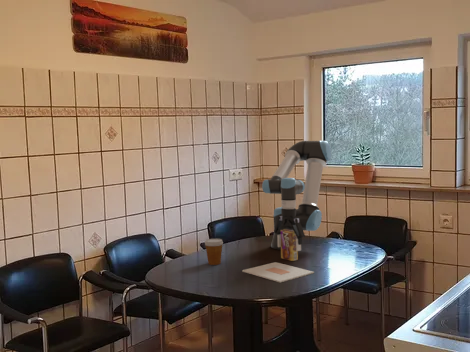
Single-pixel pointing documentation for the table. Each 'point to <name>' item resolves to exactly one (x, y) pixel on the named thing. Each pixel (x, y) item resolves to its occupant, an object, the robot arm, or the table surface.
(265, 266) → the mat
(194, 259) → the table surface
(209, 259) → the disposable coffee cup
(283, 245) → the candy box
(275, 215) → the robot arm
